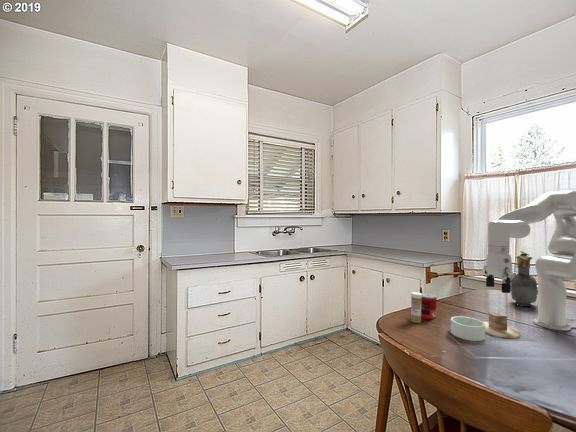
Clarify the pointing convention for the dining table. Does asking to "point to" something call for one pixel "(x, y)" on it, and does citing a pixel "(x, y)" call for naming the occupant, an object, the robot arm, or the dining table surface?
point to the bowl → (468, 328)
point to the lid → (500, 327)
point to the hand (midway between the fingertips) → (497, 289)
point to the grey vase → (524, 282)
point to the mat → (521, 338)
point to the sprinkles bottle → (416, 307)
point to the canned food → (428, 306)
